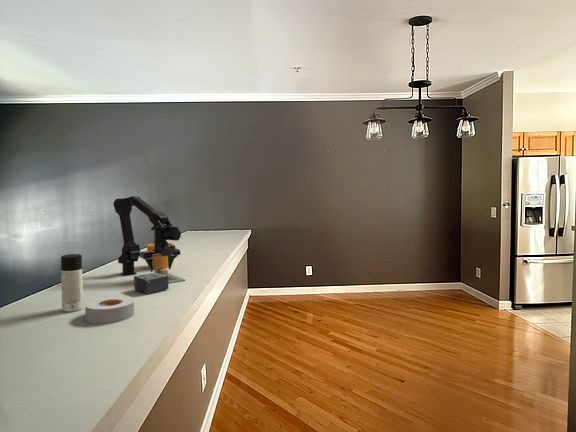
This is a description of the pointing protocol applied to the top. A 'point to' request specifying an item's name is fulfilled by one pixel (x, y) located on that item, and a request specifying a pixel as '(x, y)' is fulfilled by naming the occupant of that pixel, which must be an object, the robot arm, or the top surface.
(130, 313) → the tape roll
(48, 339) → the top surface
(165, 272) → the turner
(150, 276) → the small box
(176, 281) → the mat
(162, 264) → the flower pot
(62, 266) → the spray can
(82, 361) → the top surface
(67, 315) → the top surface
